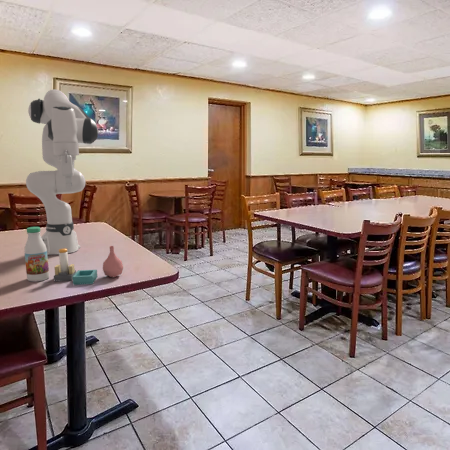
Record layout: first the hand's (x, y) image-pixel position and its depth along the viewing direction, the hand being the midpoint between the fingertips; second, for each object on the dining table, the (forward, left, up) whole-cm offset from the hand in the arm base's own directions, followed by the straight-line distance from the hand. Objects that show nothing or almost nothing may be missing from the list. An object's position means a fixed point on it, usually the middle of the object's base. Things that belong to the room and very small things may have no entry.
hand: (69, 187), depth 148 cm
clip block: (+1, -5, -34) cm, 35 cm away
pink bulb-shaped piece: (+14, +7, -35) cm, 38 cm away
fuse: (+1, -5, -32) cm, 33 cm away
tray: (+10, -2, -34) cm, 36 cm away
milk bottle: (-6, -12, -35) cm, 37 cm away
